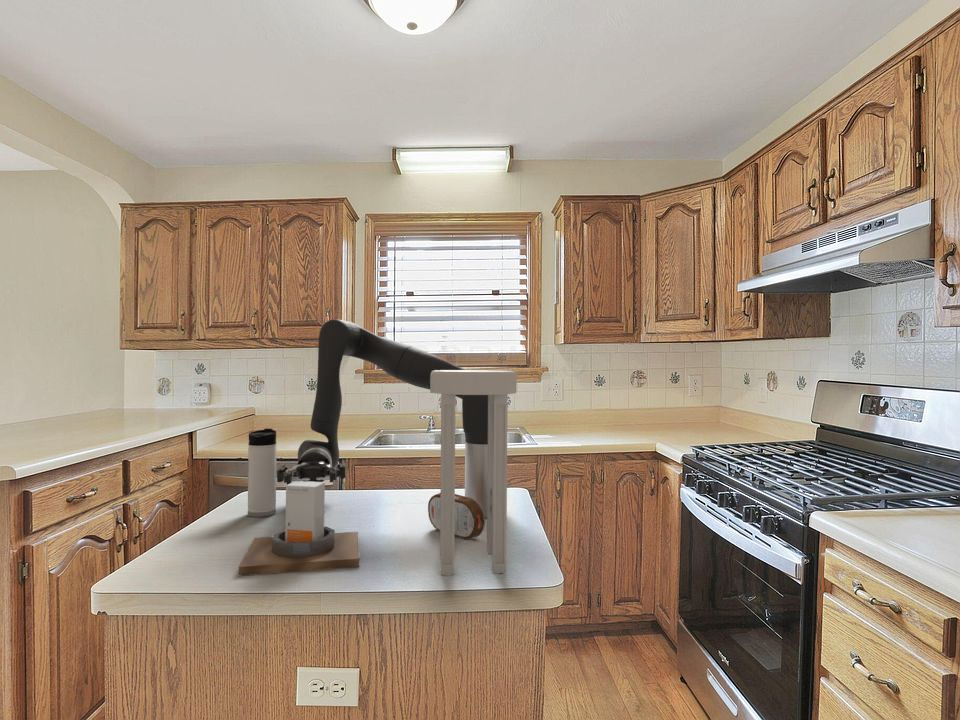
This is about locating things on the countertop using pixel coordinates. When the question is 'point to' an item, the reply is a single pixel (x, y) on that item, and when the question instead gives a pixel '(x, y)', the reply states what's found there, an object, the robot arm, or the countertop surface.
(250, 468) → the travel mug
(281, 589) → the countertop surface
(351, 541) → the walnut base
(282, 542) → the ring collar
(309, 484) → the skincare box
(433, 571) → the countertop surface
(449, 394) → the stool
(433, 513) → the tin
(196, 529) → the countertop surface
